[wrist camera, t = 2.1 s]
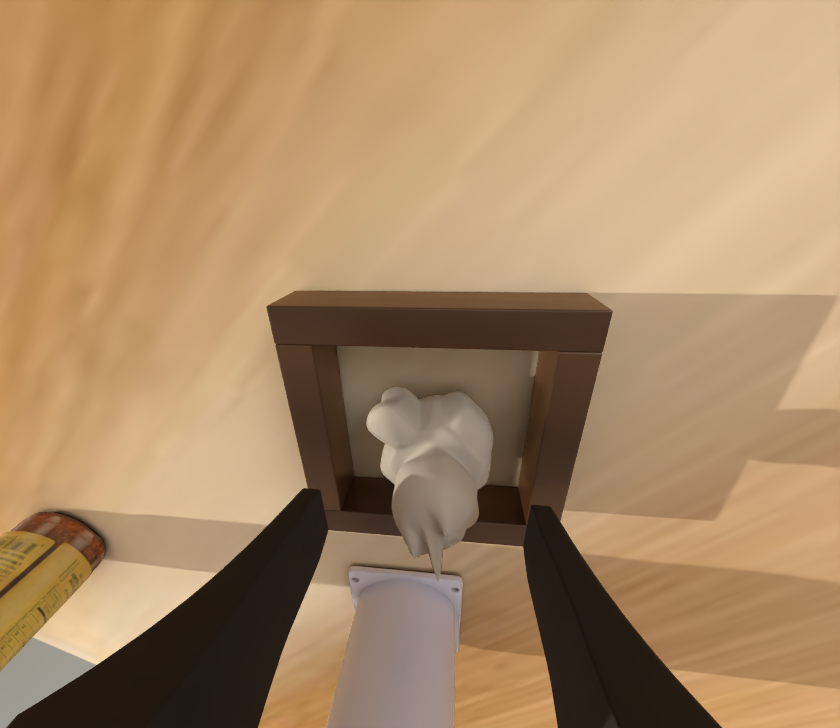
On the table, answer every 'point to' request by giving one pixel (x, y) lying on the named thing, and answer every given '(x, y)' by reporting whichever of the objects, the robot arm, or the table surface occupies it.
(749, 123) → the table surface
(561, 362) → the brown wooden square frame
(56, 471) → the table surface
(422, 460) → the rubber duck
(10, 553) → the sauce bottle
